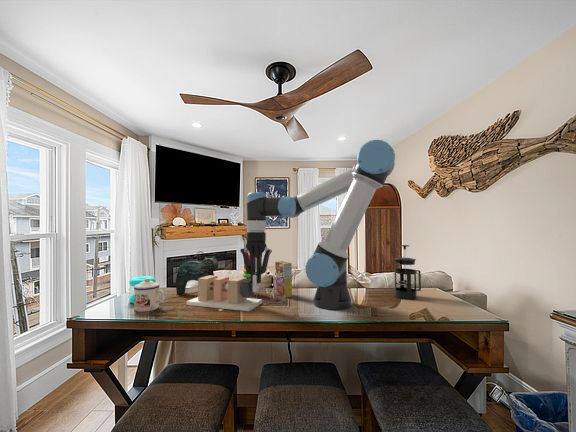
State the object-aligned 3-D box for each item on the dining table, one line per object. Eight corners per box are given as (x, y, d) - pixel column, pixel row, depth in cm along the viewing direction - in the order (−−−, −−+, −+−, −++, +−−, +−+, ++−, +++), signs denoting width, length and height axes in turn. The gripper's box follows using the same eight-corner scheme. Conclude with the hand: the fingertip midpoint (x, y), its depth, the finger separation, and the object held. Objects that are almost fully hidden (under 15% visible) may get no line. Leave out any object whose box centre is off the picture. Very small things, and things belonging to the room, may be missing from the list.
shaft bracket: (262, 303, 121) (261, 277, 122) (248, 311, 110) (248, 283, 110) (204, 297, 131) (204, 274, 131) (186, 304, 119) (186, 278, 120)
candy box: (274, 294, 137) (274, 261, 138) (283, 292, 139) (282, 260, 140) (283, 298, 129) (283, 263, 130) (292, 297, 131) (292, 262, 132)
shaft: (254, 294, 119) (254, 280, 119) (248, 297, 114) (248, 282, 114) (209, 291, 126) (209, 277, 126) (202, 293, 121) (202, 279, 121)
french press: (396, 299, 126) (395, 245, 126) (390, 294, 135) (389, 244, 136) (424, 299, 125) (423, 245, 126) (416, 294, 134) (415, 244, 135)
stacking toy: (254, 296, 132) (254, 255, 133) (237, 296, 134) (237, 254, 134) (259, 292, 140) (259, 253, 140) (243, 292, 141) (243, 253, 142)
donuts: (139, 275, 132) (160, 275, 130) (139, 297, 131) (160, 298, 130) (123, 279, 122) (145, 280, 120) (123, 303, 121) (145, 304, 120)
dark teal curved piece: (219, 293, 140) (219, 250, 140) (213, 296, 133) (213, 252, 134) (180, 291, 143) (180, 250, 143) (172, 295, 136) (173, 251, 137)
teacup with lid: (128, 311, 110) (128, 280, 111) (143, 305, 119) (143, 276, 120) (157, 312, 109) (157, 281, 109) (170, 306, 118) (171, 276, 118)
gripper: (274, 231, 118) (274, 290, 117) (245, 231, 122) (245, 288, 122) (267, 232, 111) (267, 294, 110) (236, 231, 115) (236, 292, 114)
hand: (255, 291), depth 116 cm, fingers closed
